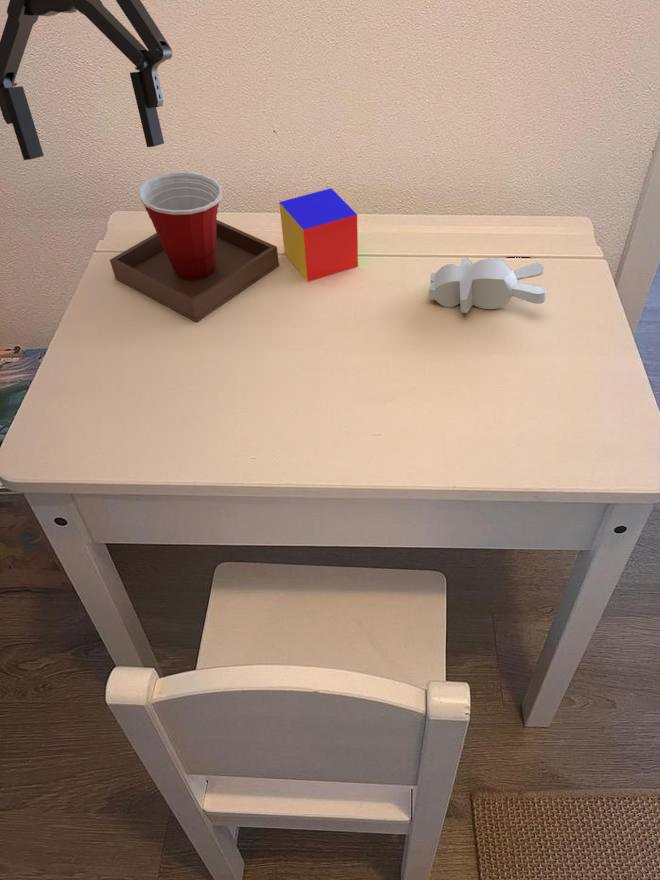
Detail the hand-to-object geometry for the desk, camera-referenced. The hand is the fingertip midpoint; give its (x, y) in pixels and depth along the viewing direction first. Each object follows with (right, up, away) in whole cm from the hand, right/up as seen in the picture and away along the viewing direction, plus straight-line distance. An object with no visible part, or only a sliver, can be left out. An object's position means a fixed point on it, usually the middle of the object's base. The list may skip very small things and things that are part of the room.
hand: (94, 152), depth 74 cm
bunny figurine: (+44, -9, +24) cm, 51 cm away
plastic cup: (+4, -4, +28) cm, 29 cm away
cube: (+22, -2, +30) cm, 37 cm away
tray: (+4, -4, +29) cm, 29 cm away
